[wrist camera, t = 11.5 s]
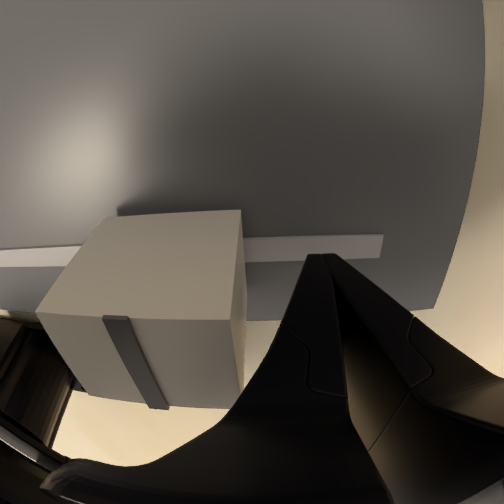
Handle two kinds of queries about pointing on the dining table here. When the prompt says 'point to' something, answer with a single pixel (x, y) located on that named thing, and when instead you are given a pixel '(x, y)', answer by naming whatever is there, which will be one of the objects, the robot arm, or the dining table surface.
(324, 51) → the console
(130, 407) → the dining table surface
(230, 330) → the block
